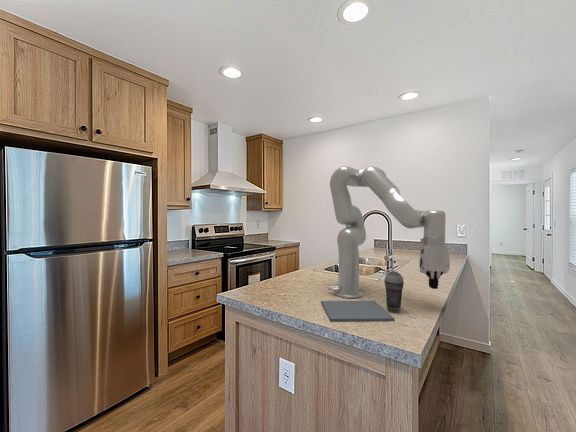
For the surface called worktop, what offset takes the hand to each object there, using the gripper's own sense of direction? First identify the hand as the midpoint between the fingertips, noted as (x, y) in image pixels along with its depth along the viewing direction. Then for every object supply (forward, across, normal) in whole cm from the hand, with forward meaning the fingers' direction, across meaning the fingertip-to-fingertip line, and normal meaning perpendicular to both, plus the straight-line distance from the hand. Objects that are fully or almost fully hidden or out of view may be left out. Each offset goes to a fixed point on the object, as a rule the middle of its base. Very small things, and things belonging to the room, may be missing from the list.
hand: (433, 287), depth 109 cm
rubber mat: (+9, -31, 0) cm, 33 cm away
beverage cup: (+9, -16, 0) cm, 18 cm away
